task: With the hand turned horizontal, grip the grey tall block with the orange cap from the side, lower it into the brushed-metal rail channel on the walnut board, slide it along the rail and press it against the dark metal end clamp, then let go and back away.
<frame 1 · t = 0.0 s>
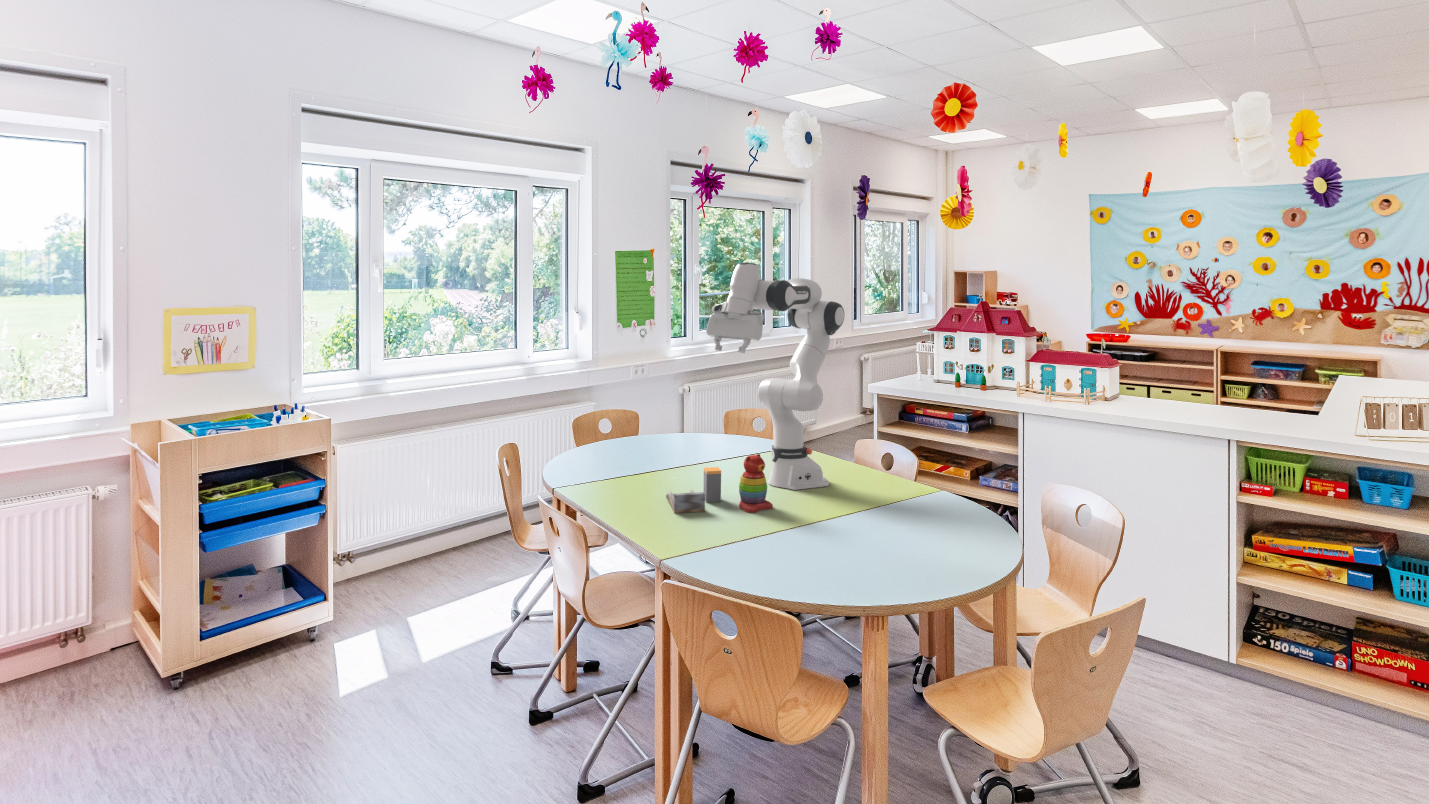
hand: (729, 351, 247), 52 cm above the table, tool tilted 20°, fingers open, 8 cm apart
stacking bear: (753, 507, 256), on the table
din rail: (684, 504, 258), on the table
grey tall block: (712, 500, 263), on the table
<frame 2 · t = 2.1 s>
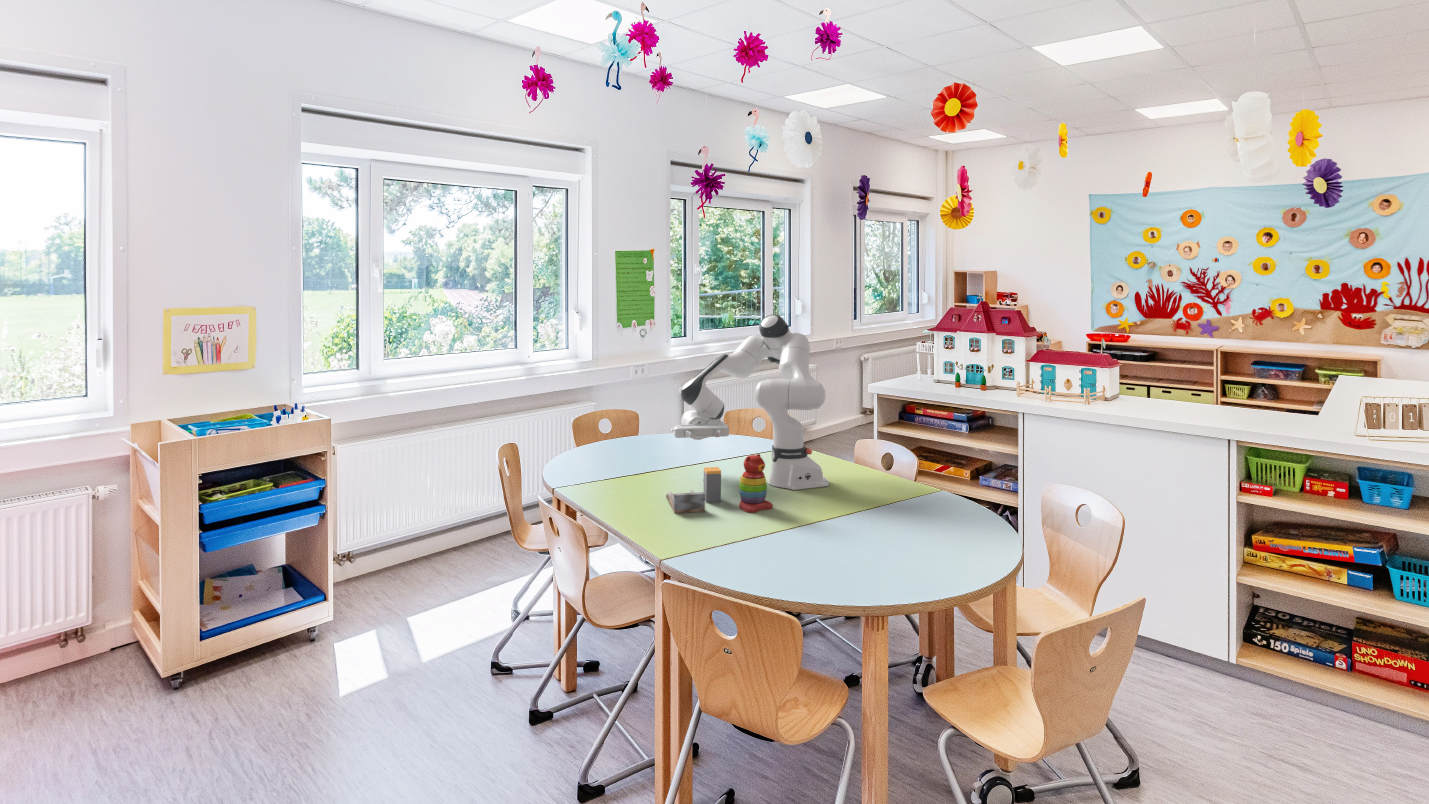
hand: (705, 435, 272), 20 cm above the table, tool horizontal, fingers open, 8 cm apart
nothing on the table moved.
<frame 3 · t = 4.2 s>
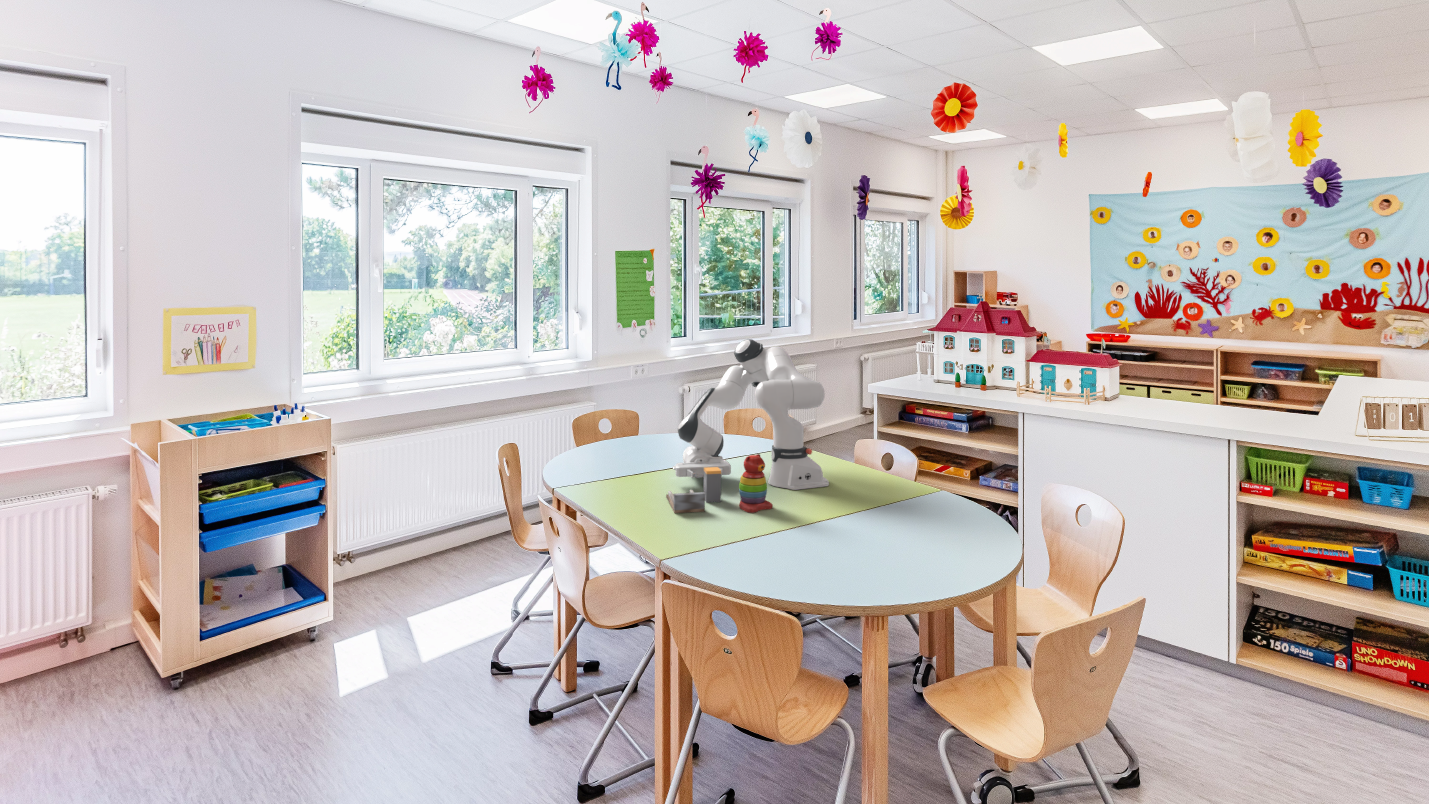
hand: (706, 474, 271), 6 cm above the table, tool horizontal, fingers open, 8 cm apart
nothing on the table moved.
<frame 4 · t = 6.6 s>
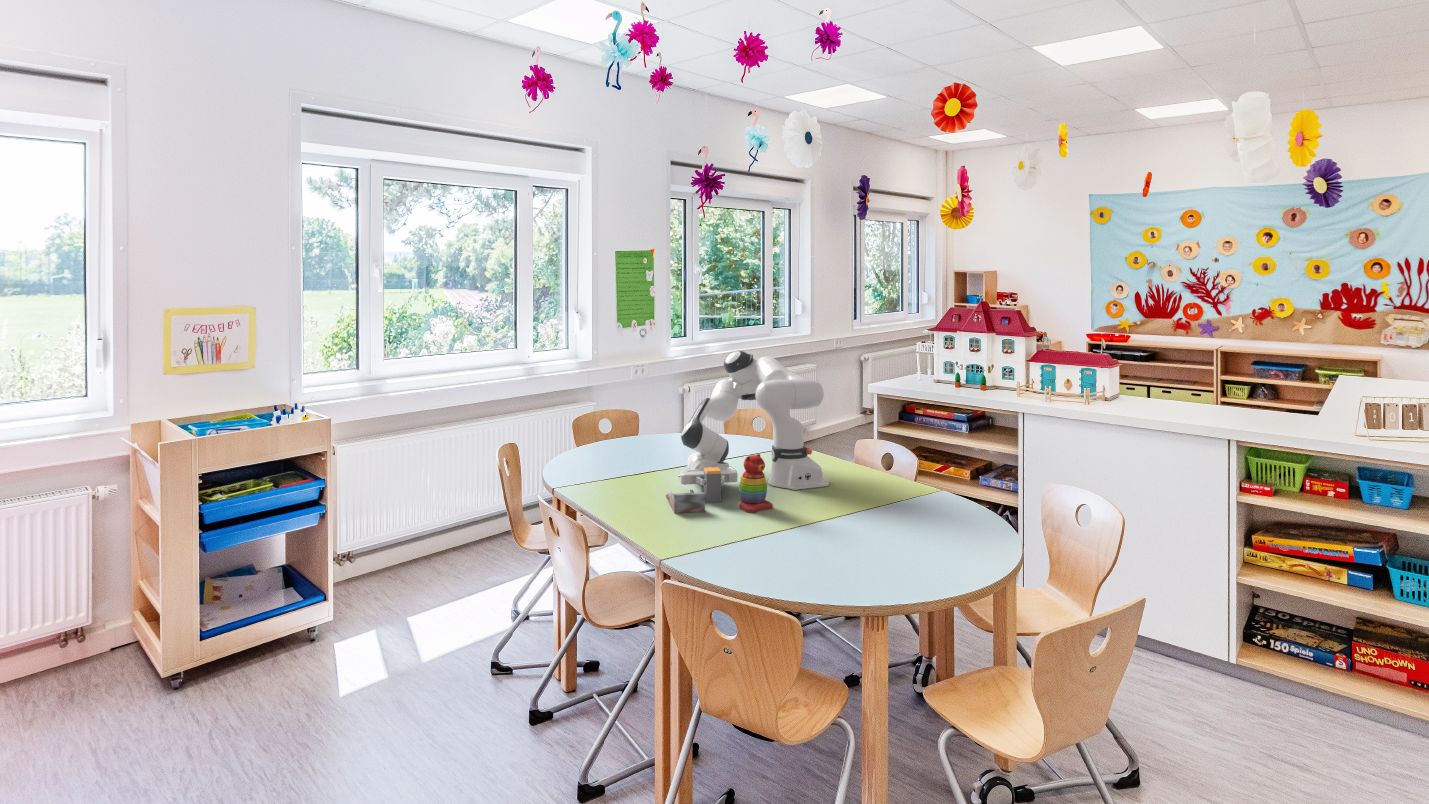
hand: (712, 482, 261), 7 cm above the table, tool horizontal, fingers closed on grey tall block, 5 cm apart
grey tall block: (712, 500, 263), on the table, touching gripper
everything else where it was.
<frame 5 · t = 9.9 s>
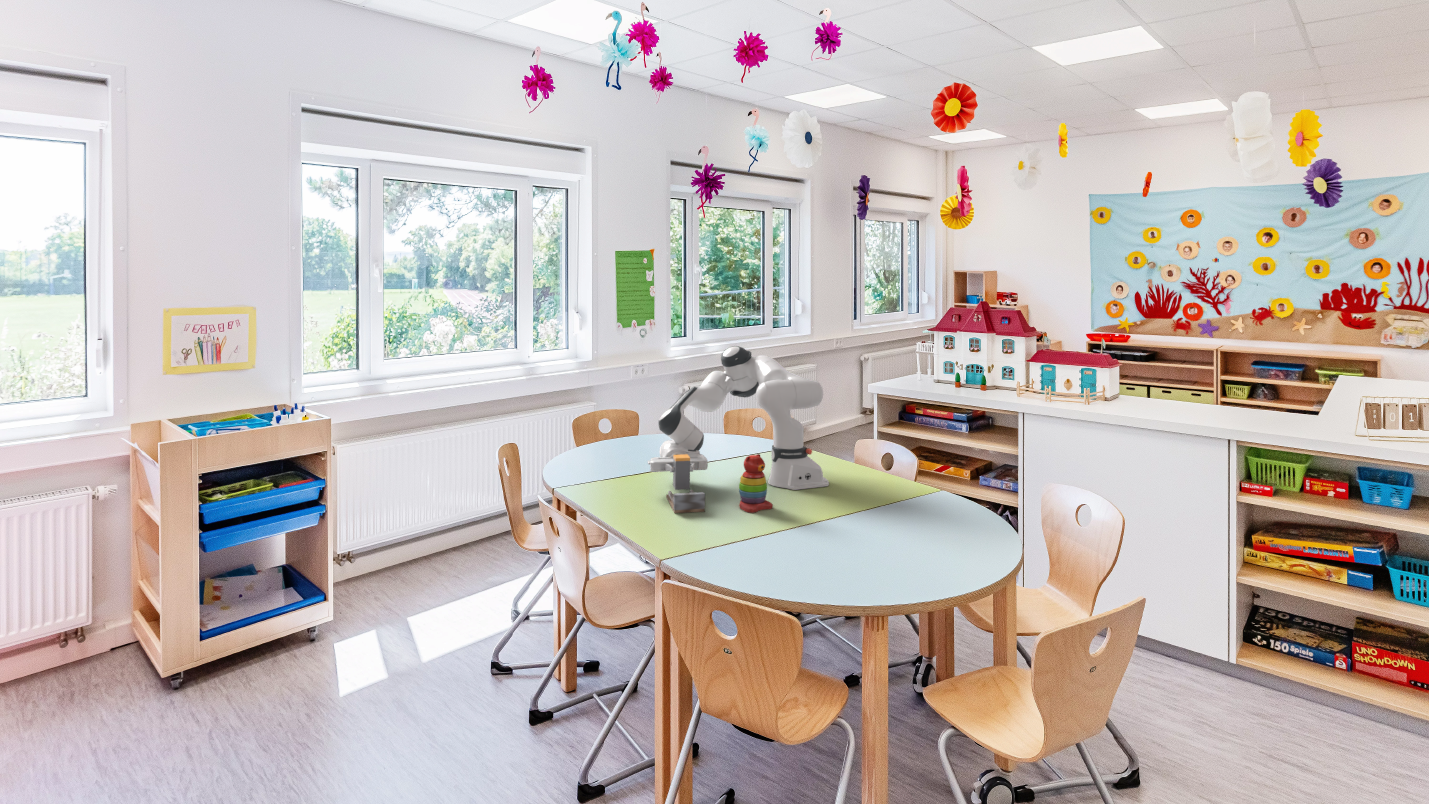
hand: (681, 469, 261), 11 cm above the table, tool horizontal, fingers closed on grey tall block, 5 cm apart
grey tall block: (681, 487, 263), point 4 cm above the table, touching gripper
everything else where it was.
when the fingers open (8 cm above the table, at t = 13.5 s): grey tall block stays where it is, resting on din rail.
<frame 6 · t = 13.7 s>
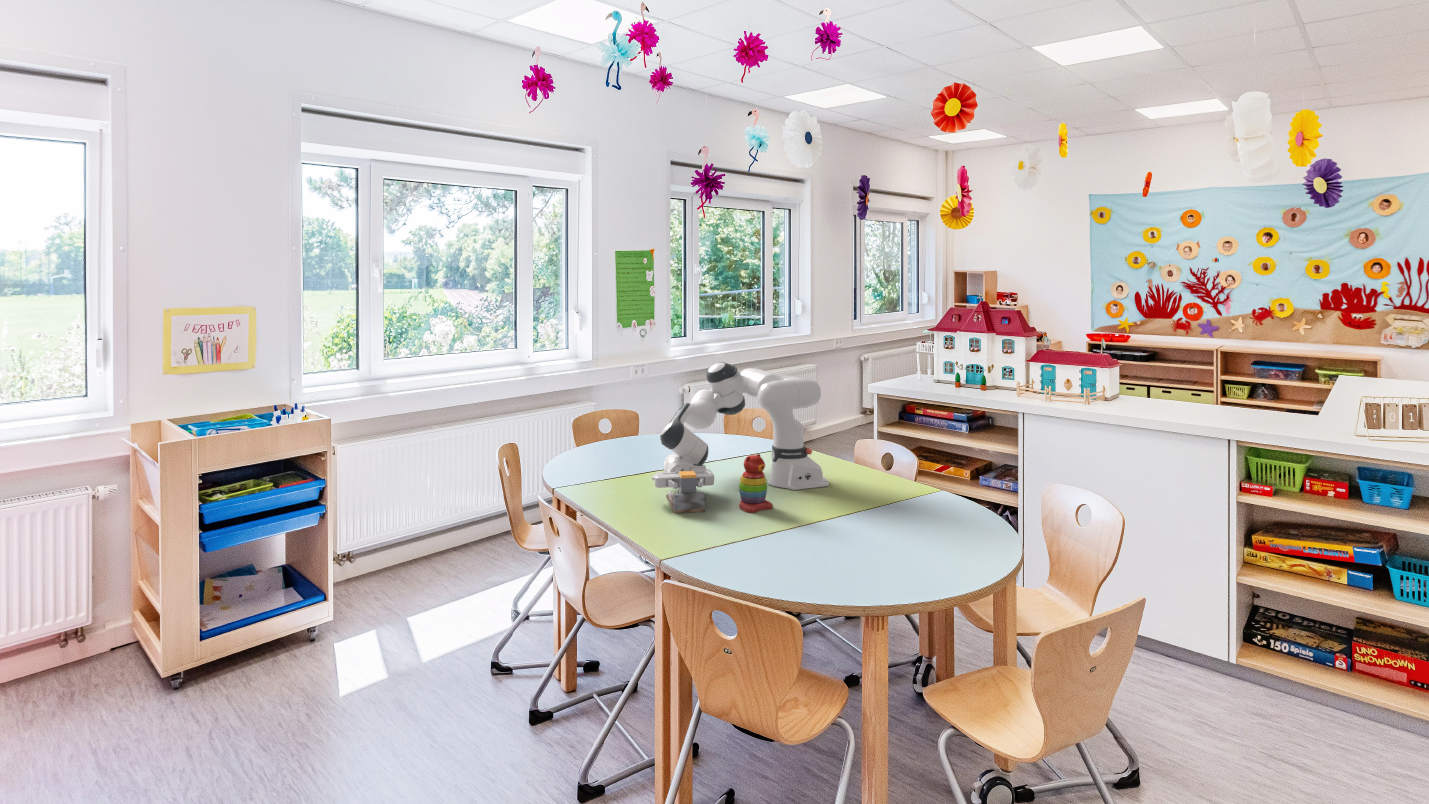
hand: (687, 485, 251), 8 cm above the table, tool horizontal, fingers open, 7 cm apart
grey tall block: (687, 505, 253), point 1 cm above the table, touching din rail
everything else where it was.
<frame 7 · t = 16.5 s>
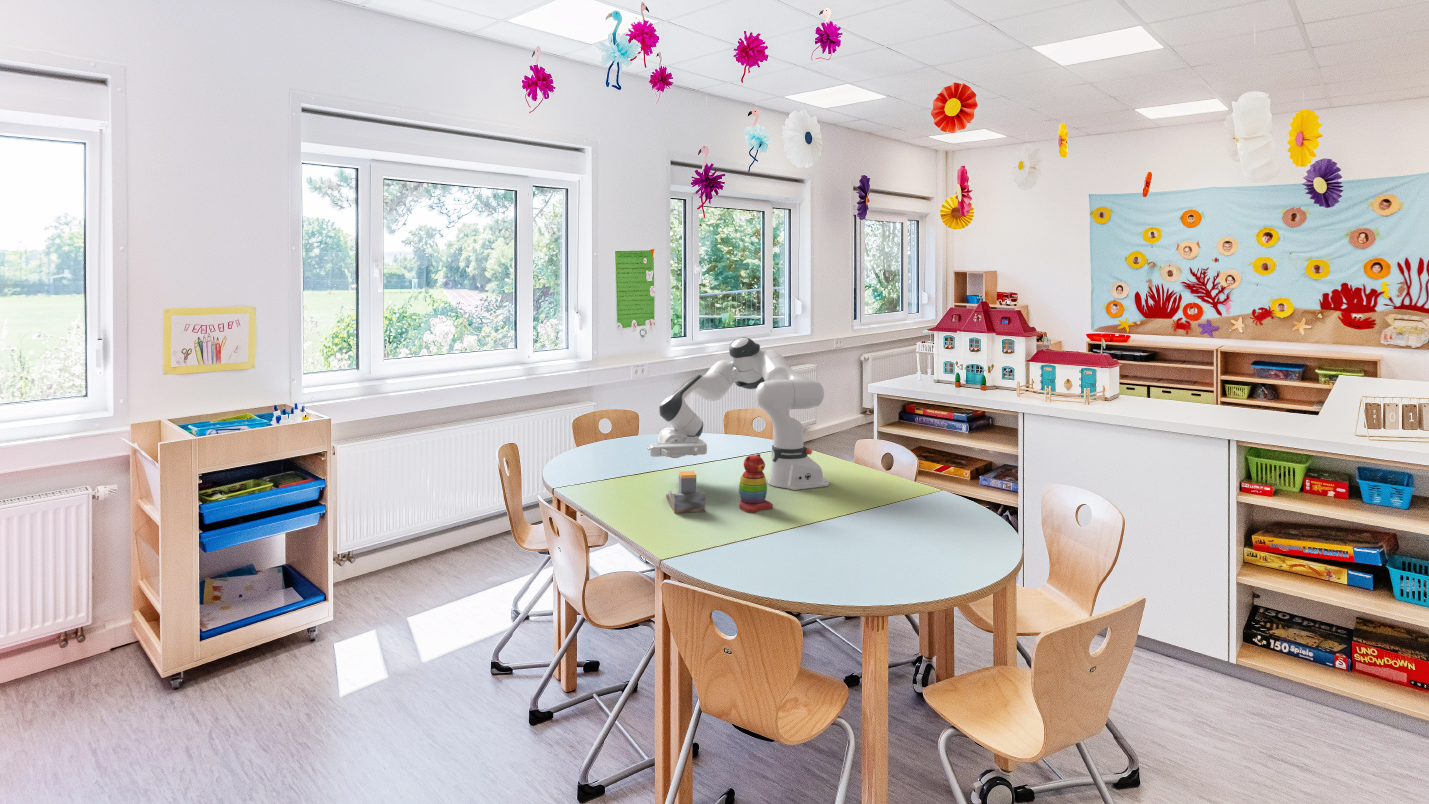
hand: (681, 453, 263), 16 cm above the table, tool horizontal, fingers open, 8 cm apart
nothing on the table moved.
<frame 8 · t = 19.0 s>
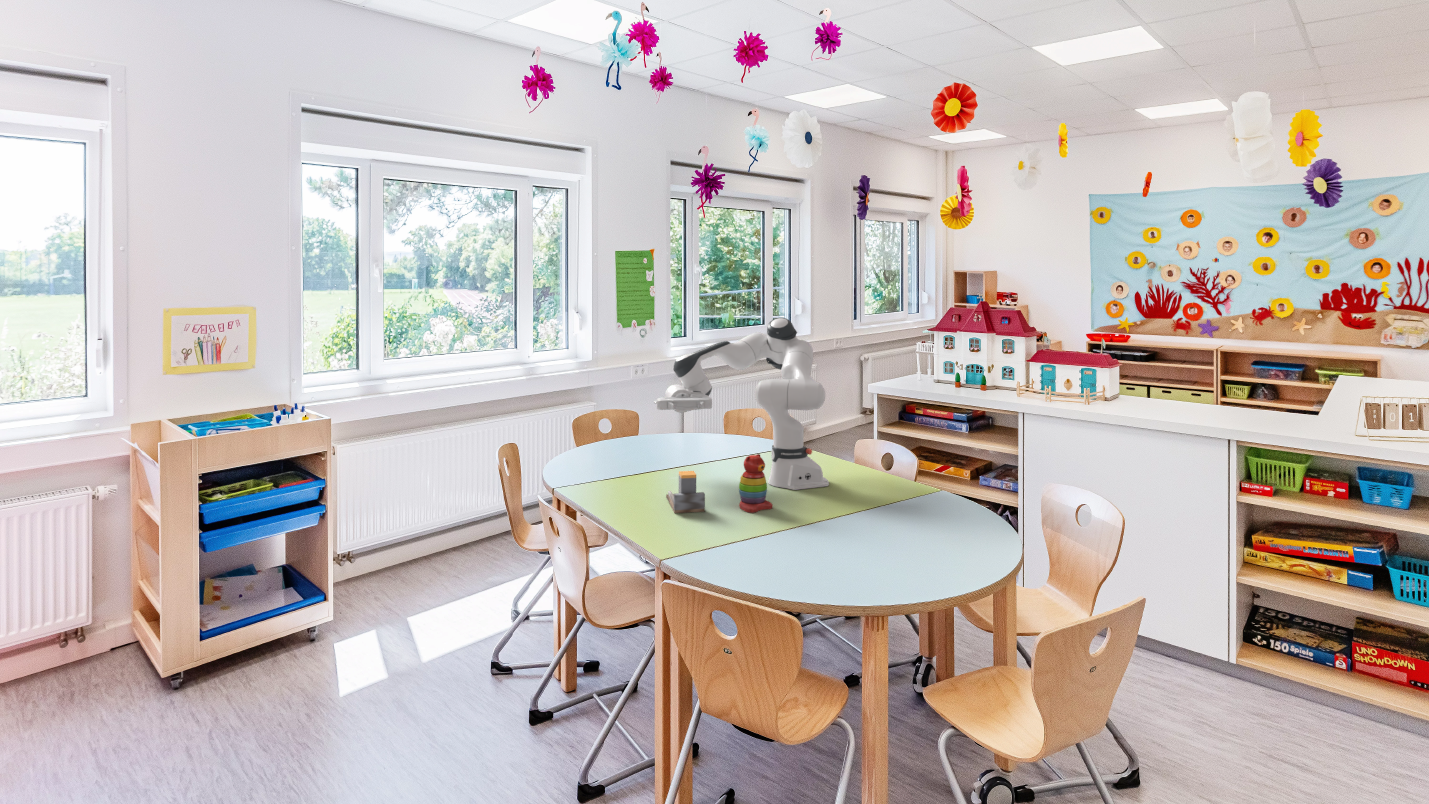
hand: (687, 406, 271), 30 cm above the table, tool horizontal, fingers open, 8 cm apart
nothing on the table moved.
at the end: grey tall block 0.2 cm from the target spot on the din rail, point 1.0 cm above the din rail's base; grey tall block tilted 0°; the gripper is holding nothing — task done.
